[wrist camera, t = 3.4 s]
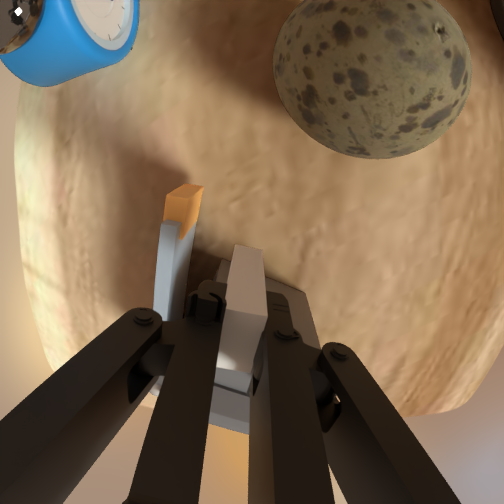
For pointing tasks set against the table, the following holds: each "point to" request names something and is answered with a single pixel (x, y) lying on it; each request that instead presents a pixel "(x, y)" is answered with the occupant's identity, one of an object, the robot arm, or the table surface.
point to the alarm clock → (64, 37)
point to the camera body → (236, 382)
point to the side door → (175, 254)
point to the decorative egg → (372, 74)
